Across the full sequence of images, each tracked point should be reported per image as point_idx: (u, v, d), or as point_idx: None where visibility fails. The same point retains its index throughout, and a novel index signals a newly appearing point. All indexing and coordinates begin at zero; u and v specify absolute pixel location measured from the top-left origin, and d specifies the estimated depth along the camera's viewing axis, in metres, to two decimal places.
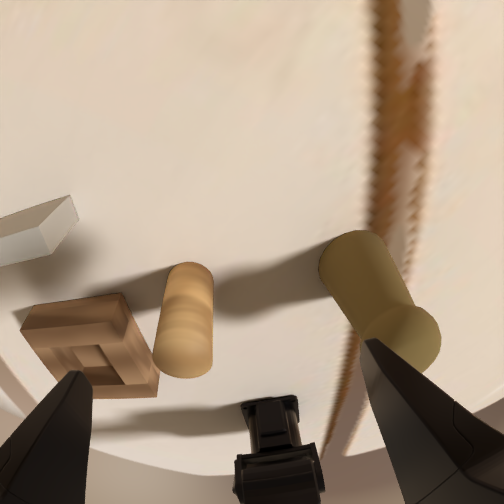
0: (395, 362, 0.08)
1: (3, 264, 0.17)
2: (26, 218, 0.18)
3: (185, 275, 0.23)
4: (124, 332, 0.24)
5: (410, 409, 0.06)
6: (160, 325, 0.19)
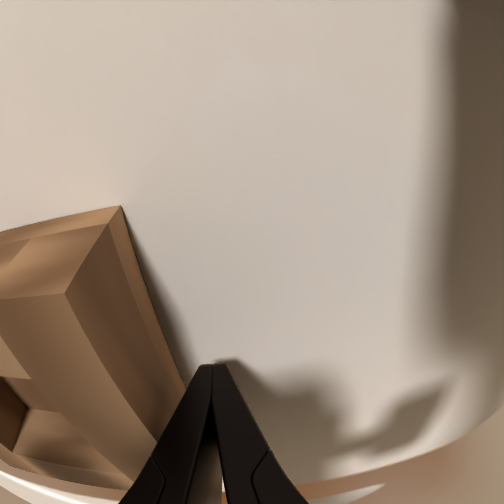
0: (227, 393, 0.08)
1: None
2: None
3: None
4: None
5: (218, 446, 0.06)
6: None
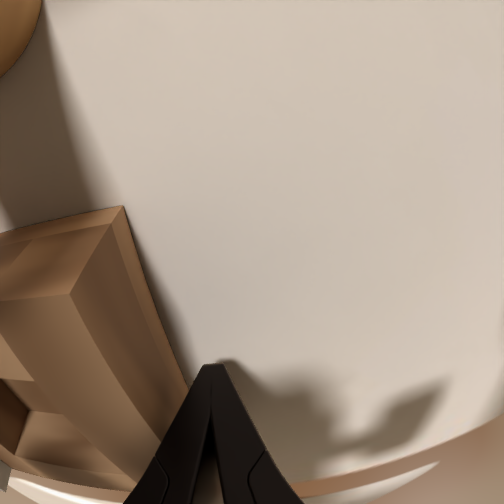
0: (225, 393, 0.08)
1: None
2: None
3: None
4: None
5: (215, 446, 0.06)
6: None
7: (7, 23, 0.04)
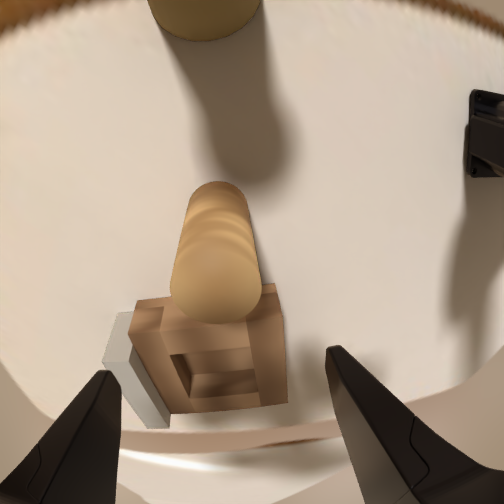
0: (356, 372, 0.08)
1: (150, 400, 0.21)
2: None
3: None
4: (161, 320, 0.20)
5: (366, 422, 0.06)
6: None
7: None
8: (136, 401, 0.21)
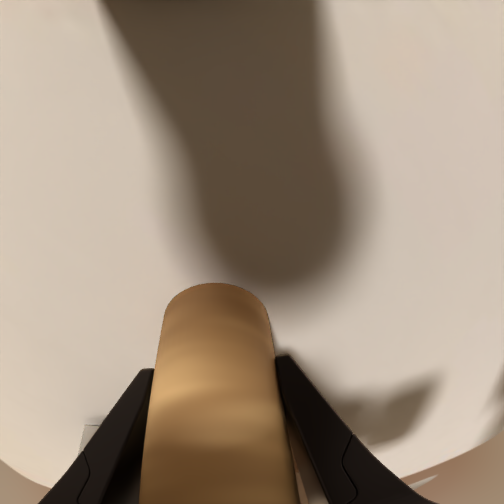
0: (299, 383, 0.08)
1: None
2: None
3: None
4: None
5: (300, 436, 0.06)
6: None
7: None
8: None
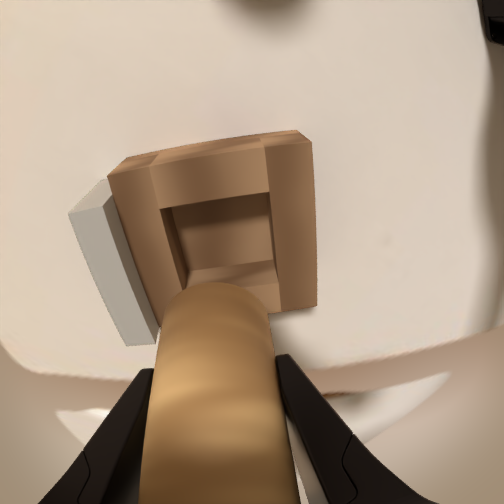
0: (299, 383, 0.08)
1: (129, 286, 0.16)
2: None
3: None
4: (153, 161, 0.15)
5: (300, 436, 0.06)
6: None
7: None
8: (110, 289, 0.16)
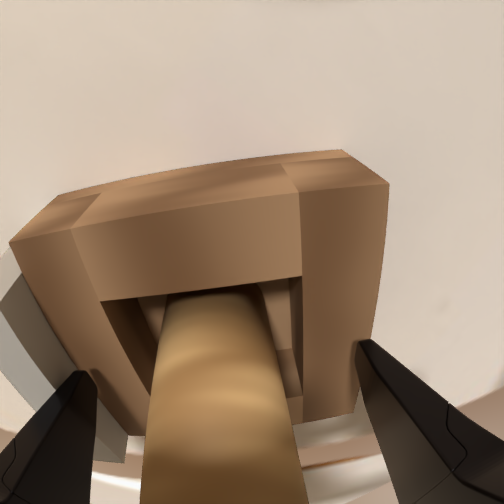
0: (389, 364, 0.08)
1: None
2: None
3: None
4: (85, 211, 0.08)
5: (403, 411, 0.06)
6: None
7: None
8: None
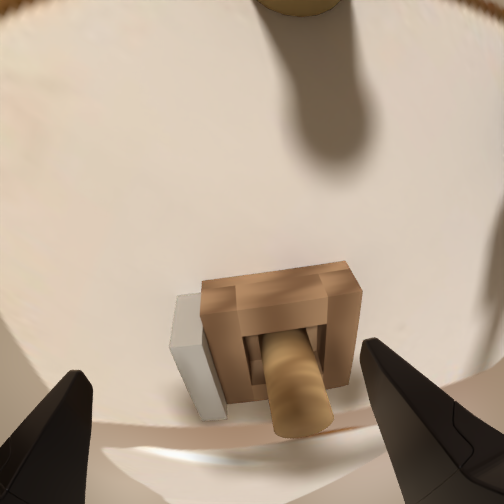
0: (395, 362, 0.08)
1: (214, 389, 0.21)
2: None
3: None
4: (236, 299, 0.20)
5: (410, 409, 0.06)
6: None
7: None
8: (198, 390, 0.21)
